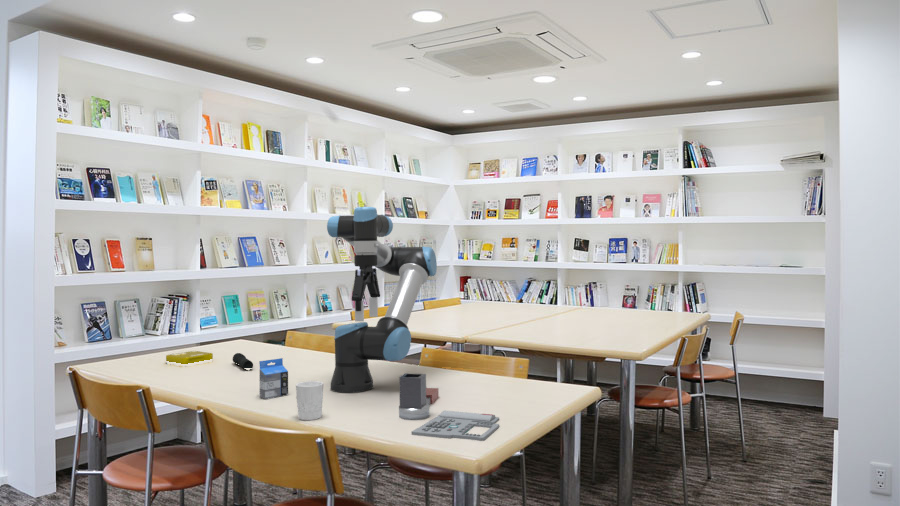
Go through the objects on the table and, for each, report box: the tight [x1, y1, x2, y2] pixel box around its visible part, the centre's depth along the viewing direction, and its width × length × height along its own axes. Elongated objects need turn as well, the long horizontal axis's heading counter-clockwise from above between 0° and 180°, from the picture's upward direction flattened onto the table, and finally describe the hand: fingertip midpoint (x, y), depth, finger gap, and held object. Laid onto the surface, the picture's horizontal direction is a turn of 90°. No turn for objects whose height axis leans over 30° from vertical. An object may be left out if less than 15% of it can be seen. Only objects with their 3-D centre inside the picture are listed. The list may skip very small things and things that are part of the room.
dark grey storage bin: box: [399, 372, 427, 409], centre depth 189 cm, size 6×6×9 cm
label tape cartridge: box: [259, 357, 289, 400], centre depth 217 cm, size 9×4×12 cm, turn 134°
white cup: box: [295, 380, 324, 421], centre depth 189 cm, size 8×8×10 cm
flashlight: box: [232, 352, 254, 370], centre depth 272 cm, size 5×21×5 cm, turn 30°
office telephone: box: [410, 410, 500, 442], centre depth 177 cm, size 23×3×20 cm
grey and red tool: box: [398, 387, 440, 421], centre depth 199 cm, size 29×9×7 cm, turn 169°
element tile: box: [165, 350, 214, 364], centre depth 284 cm, size 15×15×5 cm
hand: (366, 319), depth 209 cm, fingers open, 13 cm apart
